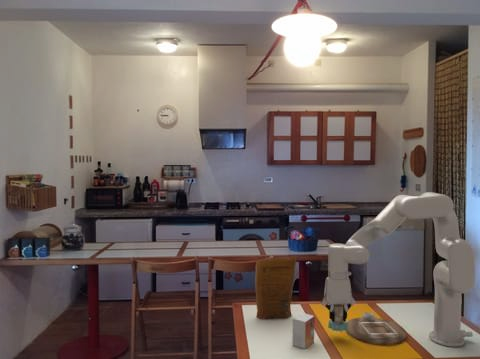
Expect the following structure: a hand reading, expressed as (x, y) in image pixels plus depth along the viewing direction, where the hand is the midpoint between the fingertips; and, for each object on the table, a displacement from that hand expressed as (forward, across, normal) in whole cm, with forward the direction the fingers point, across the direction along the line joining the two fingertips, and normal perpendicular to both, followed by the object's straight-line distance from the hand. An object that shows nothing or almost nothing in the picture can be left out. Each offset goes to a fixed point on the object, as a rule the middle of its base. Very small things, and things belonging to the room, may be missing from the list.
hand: (338, 319), depth 162 cm
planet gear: (+3, 0, 0) cm, 3 cm away
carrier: (+8, -17, -6) cm, 20 cm away
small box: (+8, +15, +4) cm, 17 cm away
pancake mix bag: (+7, +23, -22) cm, 33 cm away
